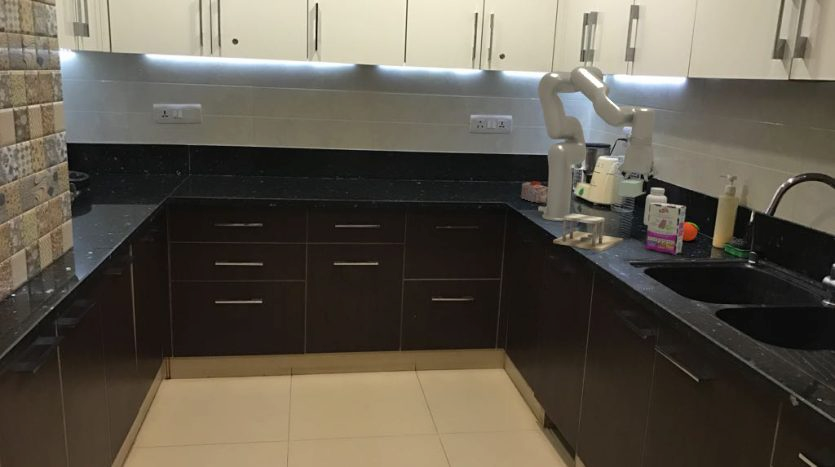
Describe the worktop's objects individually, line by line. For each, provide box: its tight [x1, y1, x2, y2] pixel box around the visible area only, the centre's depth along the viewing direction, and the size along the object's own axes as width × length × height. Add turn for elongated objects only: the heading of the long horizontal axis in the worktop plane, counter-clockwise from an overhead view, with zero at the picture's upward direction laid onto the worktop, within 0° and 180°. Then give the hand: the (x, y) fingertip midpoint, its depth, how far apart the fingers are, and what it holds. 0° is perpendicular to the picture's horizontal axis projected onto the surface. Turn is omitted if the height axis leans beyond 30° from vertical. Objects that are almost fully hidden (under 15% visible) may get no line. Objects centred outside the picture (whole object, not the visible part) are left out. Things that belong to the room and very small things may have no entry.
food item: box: [520, 180, 548, 204], centre depth 329 cm, size 14×8×10 cm, turn 30°
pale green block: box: [617, 177, 647, 198], centre depth 257 cm, size 6×13×5 cm, turn 144°
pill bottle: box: [643, 187, 668, 226], centre depth 283 cm, size 8×8×15 cm
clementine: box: [683, 221, 700, 242], centre depth 257 cm, size 8×7×7 cm
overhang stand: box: [552, 213, 624, 252], centre depth 250 cm, size 18×20×10 cm
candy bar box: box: [645, 202, 687, 256], centre depth 240 cm, size 11×5×16 cm, turn 45°
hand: (636, 190), depth 261 cm, fingers closed on pale green block, 5 cm apart
